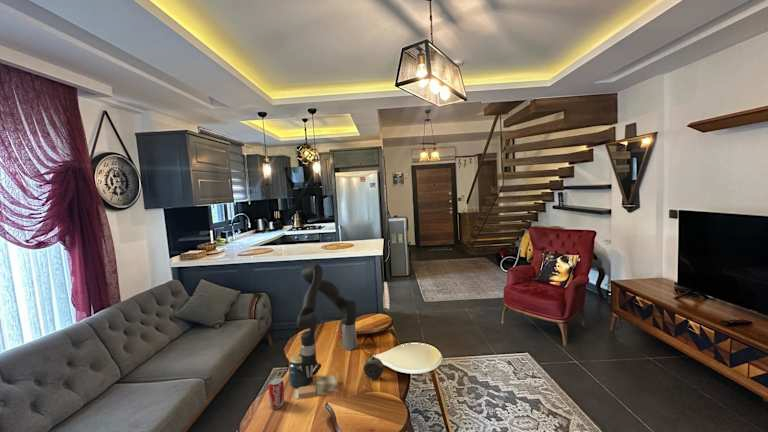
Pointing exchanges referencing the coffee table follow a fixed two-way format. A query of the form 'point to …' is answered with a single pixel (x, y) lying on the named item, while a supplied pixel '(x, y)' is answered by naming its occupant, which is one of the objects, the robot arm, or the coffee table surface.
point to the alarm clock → (373, 367)
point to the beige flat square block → (326, 385)
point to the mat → (298, 395)
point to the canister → (296, 372)
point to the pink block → (307, 391)
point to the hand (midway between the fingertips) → (310, 382)
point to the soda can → (276, 392)
